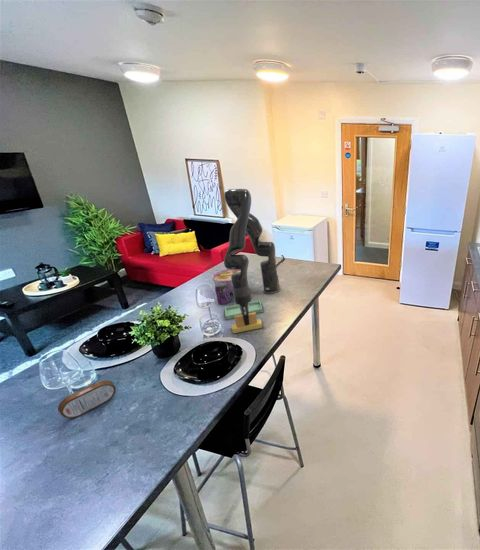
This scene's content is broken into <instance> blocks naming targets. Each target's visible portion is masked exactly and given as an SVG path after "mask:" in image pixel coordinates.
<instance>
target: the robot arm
mask: <svg viewBox="0 0 480 550" xmlns="http://www.w3.org/2000/svg"><path fill="white" fill-rule="evenodd" d="M223 196H224V197H223V198H224V201H225V203H226V205H227V207H228V208H229V210H230V211H231V213H232V214H233V215H234V217H236V220H235V222H233V225H232V226H231V228H230V231H229V236H228V237H229V238H228V247H227V251H226V253H225V255H224V258H223V265H224V267H225V269H240V272H237V273H234V274H232V276H231V280H232V286H233V293H232V294H233V300H234V303H235V305H240V310H241V313H242V315H243V319H244V323H245V325H249V316H248V314H249V310H248V309H249V307H248V303H251V302H252V297H251V289H250V285H249V281H248V268H249V263H250V260H249V257H248V256H247V255H246V254H236V253H237V252H240V251H243V250H245V248H246V239H247V238H246V237H248V239H249V241H250V243H251V245H252V247H253V250H254V252H255V254H256V255H257V256H258V257H262V258H263V257H264V258H267V259H264V260H262V261H261V262H260V271H261V272H260V273H261V279H262V287H263V292H264V293H265V294H268V295H270V294H271V295H272V294H277V293H278V292H279V291H280V282H279V275H278V270H277V267H278V266H279V265H280V264H281V263H282V262H283V261H284V260H285V256H284V255H283V254H282V255H280V256H281V257H282V259H281V260H280V261H279V262H278V263H277V256H276V245H275V243H274V241H264V240H263V241H262V240H261V239H260V238H261V236H262V234H263V226H262V224H261V223H260V220H259V219H258V217H256V216H255V215H254V214H252V212H251V208H252V195H251V192H250V191H249V189H247V188H229V189H226V190H225V191H224V193H223Z"/></svg>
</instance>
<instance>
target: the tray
mask: <svg viewBox="0 0 480 550" xmlns="http://www.w3.org/2000/svg"><path fill="white" fill-rule="evenodd" d="M248 307H249V309H248V310H249V313H252V312H256V314H260V313H263V312H264V310H263V306H262V303H261V300H257V301H256V300H255V301H250V302H249V303H248ZM224 314H225V315H224V317H225V320H230V319H235V315H241V314H242V313H241V310H240V305H238V304H235V305H231V306H225V307H224Z"/></svg>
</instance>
